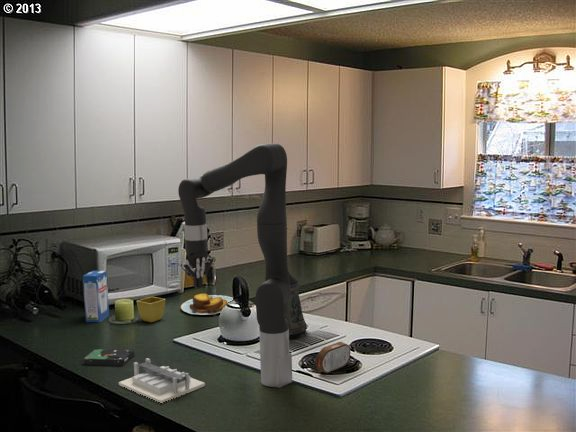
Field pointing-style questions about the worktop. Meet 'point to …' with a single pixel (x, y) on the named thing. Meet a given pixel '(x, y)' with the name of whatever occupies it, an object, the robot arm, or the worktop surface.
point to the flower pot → (151, 308)
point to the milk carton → (96, 296)
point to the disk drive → (108, 357)
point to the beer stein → (294, 311)
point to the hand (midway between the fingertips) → (198, 288)
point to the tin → (333, 357)
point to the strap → (161, 372)
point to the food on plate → (205, 304)
